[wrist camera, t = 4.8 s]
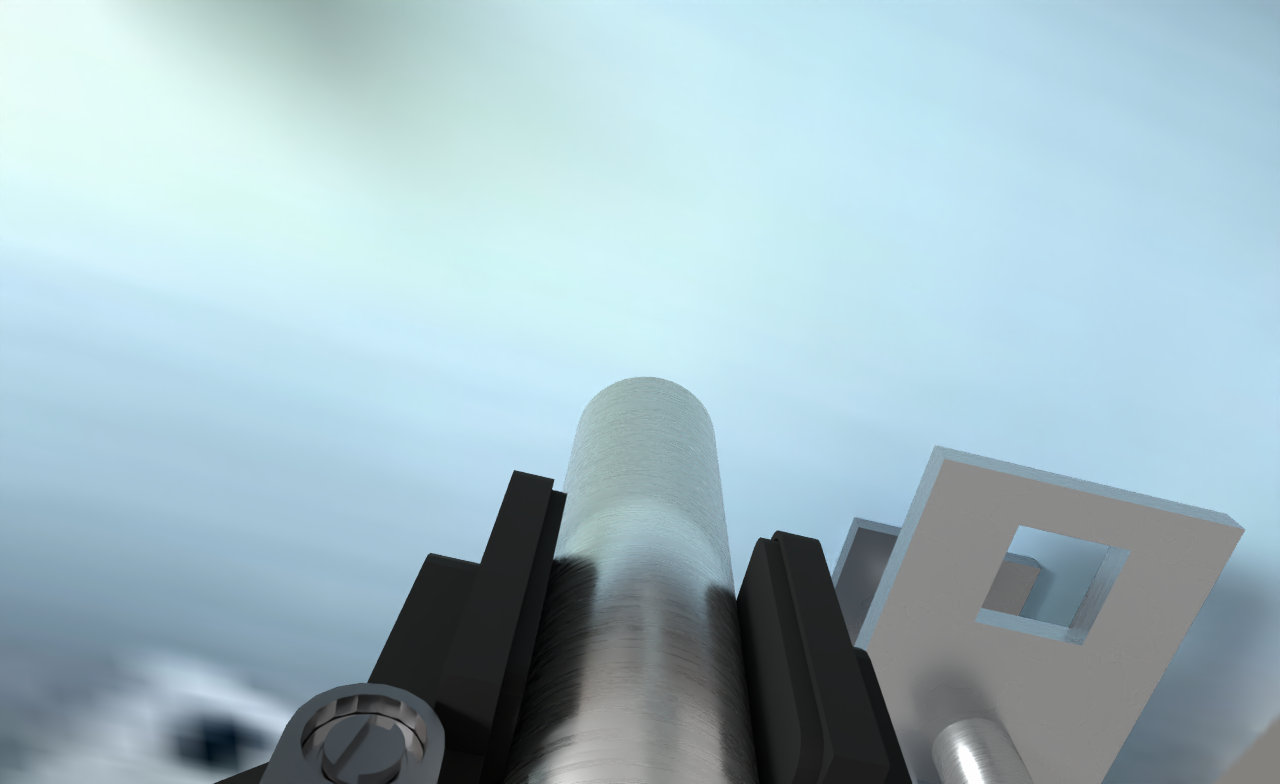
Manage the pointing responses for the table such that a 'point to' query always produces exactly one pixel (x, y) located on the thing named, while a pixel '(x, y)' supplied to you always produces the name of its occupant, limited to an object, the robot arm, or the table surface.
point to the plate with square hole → (1021, 619)
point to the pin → (638, 609)
